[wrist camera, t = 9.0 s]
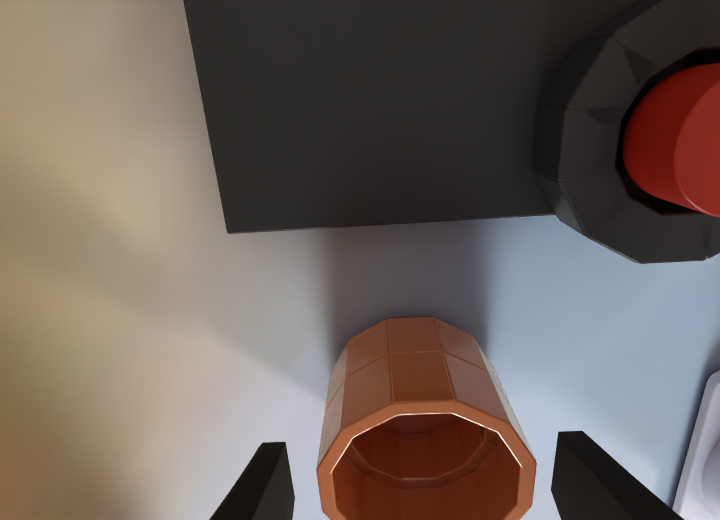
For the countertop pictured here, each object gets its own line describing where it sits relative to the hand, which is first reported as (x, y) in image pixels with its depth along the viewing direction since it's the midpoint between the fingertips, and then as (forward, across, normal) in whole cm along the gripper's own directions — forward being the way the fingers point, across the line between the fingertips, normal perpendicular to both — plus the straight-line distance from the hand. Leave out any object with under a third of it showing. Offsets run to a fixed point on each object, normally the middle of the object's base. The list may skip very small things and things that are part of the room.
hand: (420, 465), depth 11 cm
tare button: (+1, -6, -8) cm, 10 cm away
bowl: (+4, 0, 0) cm, 4 cm away
